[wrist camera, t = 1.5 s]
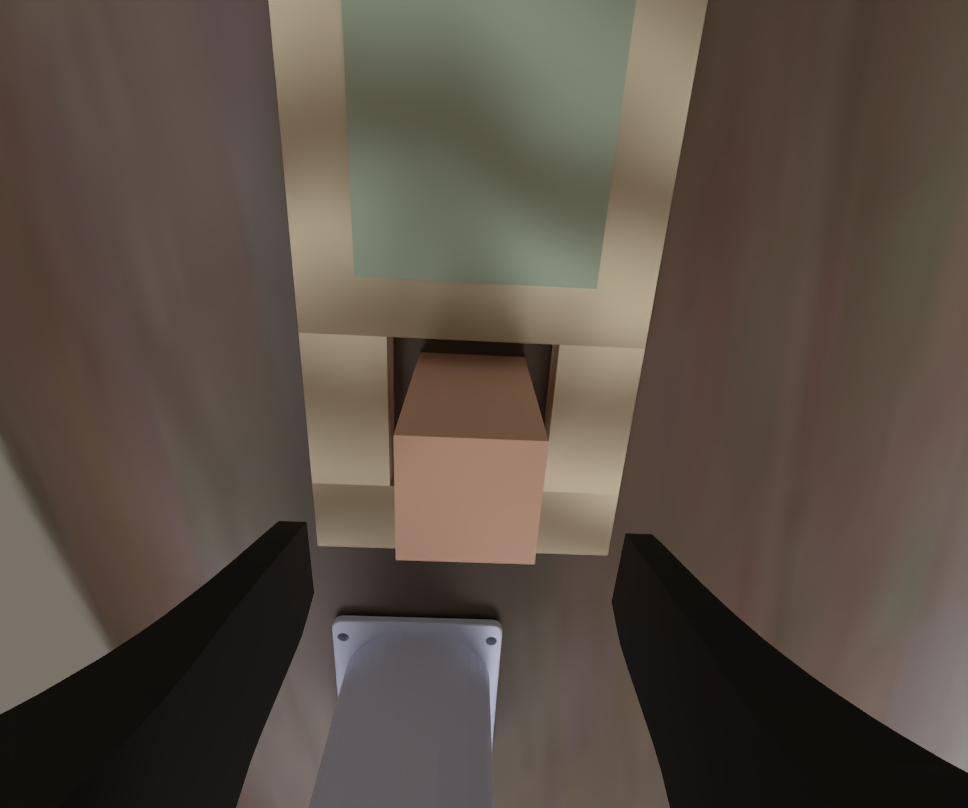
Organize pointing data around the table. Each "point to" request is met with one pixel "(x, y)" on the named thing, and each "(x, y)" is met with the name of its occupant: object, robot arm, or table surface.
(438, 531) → the terracotta block
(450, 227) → the board
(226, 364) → the table surface
